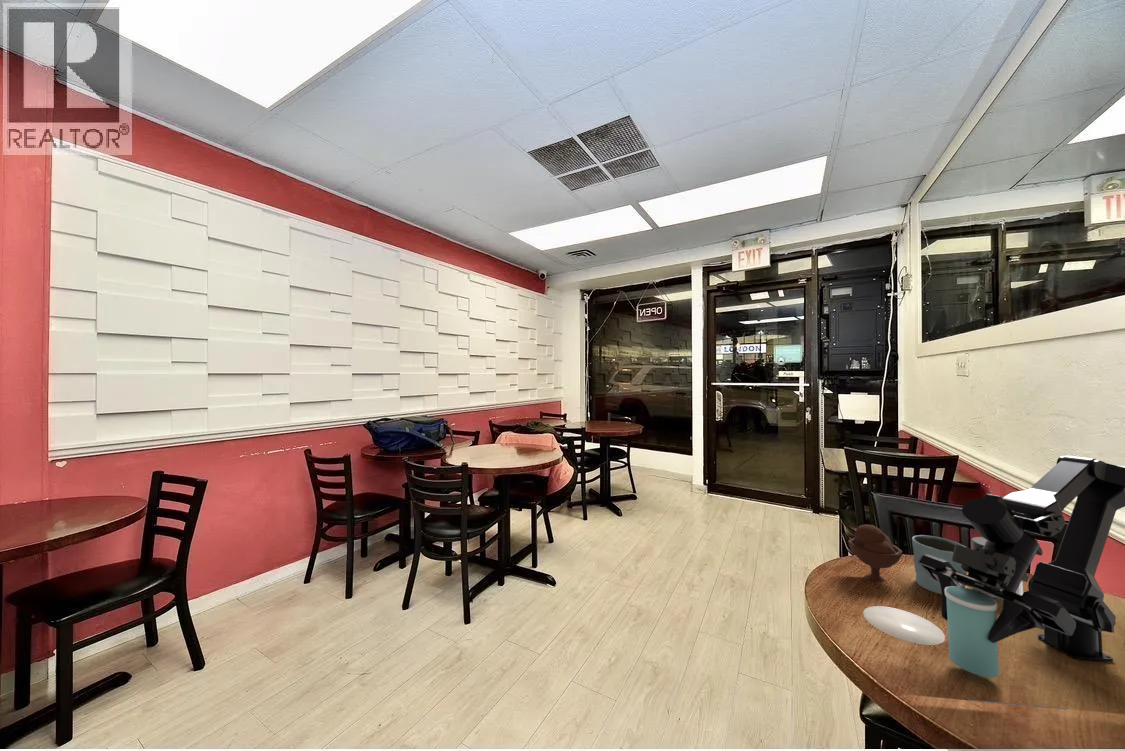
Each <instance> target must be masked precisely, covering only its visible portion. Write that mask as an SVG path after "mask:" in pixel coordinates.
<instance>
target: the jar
mask: <svg viewBox="0 0 1125 751" xmlns="http://www.w3.org/2000/svg"><path fill="white" fill-rule="evenodd" d="M986 541H987V539H985V538H983V537H982V536H977V537H976V536H975V537H972V538H971V541H970V542H971V543H970V545H971V549H973V550H975V548H977V547H979V548H983V547H984V545H985V543H986ZM1023 582H1024V581H1021V583H1020V585H1019V587H1018V589H1017V591H1016V593H1017V594H1019V595H1023V593H1024V586H1023V585H1024V583H1023ZM984 594H986V593H984ZM986 595H988V594H986ZM988 596H990V597H992V598H993V599H994V598H995V599H997V598H996V597H993V596H991V595H988Z"/></svg>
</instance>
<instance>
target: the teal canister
mask: <svg viewBox="0 0 1125 751" xmlns="http://www.w3.org/2000/svg"><path fill="white" fill-rule="evenodd" d="M945 596H946V599H947V620H946V621H947V634H948V635H947V637H948V640H947V641H948V655H949V659H950V660H951V661H952V663H954V664H955V665H956V666H958V667H959V668H960V669H962V670H964V671H966V672H969V673H971V674H973V675H974V674H975V676H976V675H977V676H979V677H985V678H991V679H992V678H997V677H999V676H1000V665H999V664H1000V660H999V646H998V644H999V643H998V642H999V641H998V642H995V643H992V642H990V641H989V640H988V636H989V633H990V630H991V629H992V627H993V625H994V624H995V622H996V621H997V610H998V606H999V605H998V602H997V600H996V599H994V598H993V597H991V596H989V595H987V594H985V593H983V592H981V591H978V590H976V589H973V588H968V587H967V588H966V587H965V588H963V587H956V586H949V587H946V588H945Z"/></svg>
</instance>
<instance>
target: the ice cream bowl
mask: <svg viewBox="0 0 1125 751" xmlns="http://www.w3.org/2000/svg"><path fill="white" fill-rule="evenodd" d="M847 542H848V546H849V548H850V550H851V552H852V553H853V554H854V555H855V556H856V557H857V558H858V559H859V560H860V561H861V562H862V563H863V564H865V565H867V566H869V567H870V569H871V570H870V573H871V574H870V573H869V574H868V573H867V574H865V575H864V576H862V578H865V579H869V580H871V581H873V582H876V583H877V582H878V583H885V582H886V579H885V578H884V577H883V576H881V573H880V570H881V569H887V568H891V567H892V566H895V565H896V564H897V563H898V562H899V561H900V560H901V558H902V556H903V550H902V549H901V548H899V547H898V546H897V545H895V544H893V543H892V541H891V539H890V537H889V535H887V534H886V533H884V532H883V531H882V530H881V529H880V528H879V527H877V526H875V525H874V524H861V525H859V526H857V527H856V529H855V531H854V536H853V537H851V538H850V539H849V540H847Z"/></svg>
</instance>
